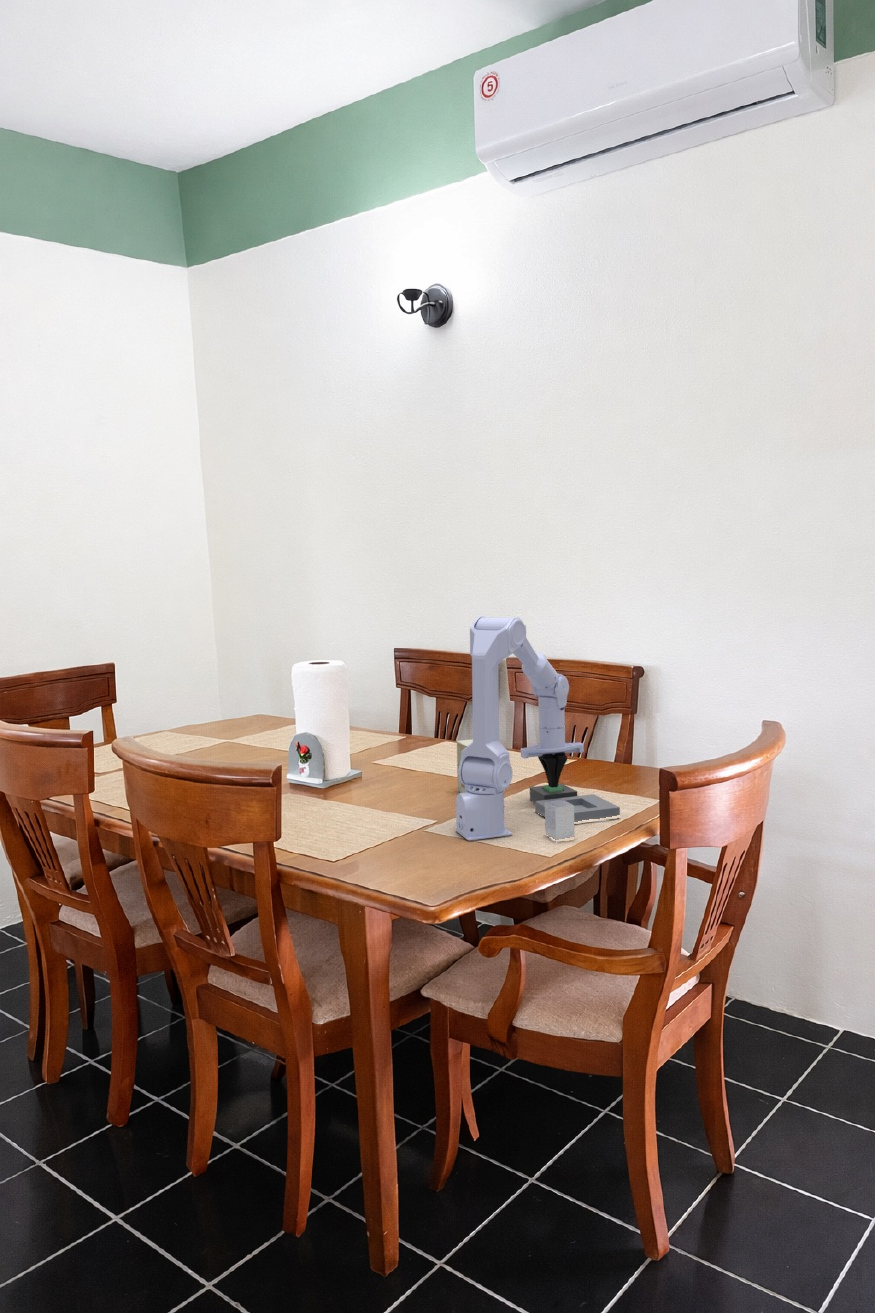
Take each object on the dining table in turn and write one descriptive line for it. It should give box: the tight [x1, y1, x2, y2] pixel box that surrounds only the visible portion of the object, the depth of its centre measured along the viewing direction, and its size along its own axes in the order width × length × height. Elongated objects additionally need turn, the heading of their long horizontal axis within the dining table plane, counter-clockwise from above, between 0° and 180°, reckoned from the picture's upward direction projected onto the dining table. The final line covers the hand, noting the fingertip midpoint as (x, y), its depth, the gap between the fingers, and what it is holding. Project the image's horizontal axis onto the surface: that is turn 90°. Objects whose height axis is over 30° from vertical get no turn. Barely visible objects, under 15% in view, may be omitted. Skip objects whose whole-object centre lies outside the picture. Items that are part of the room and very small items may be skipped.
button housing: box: [529, 783, 578, 803], centre depth 224 cm, size 8×8×3 cm
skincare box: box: [456, 738, 473, 793], centre depth 234 cm, size 6×4×12 cm
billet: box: [544, 800, 576, 840], centre depth 197 cm, size 4×5×7 cm
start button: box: [543, 784, 563, 792], centre depth 223 cm, size 3×3×2 cm
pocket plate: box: [534, 793, 621, 822], centre depth 212 cm, size 14×12×2 cm
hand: (553, 786), depth 223 cm, fingers closed, pressing on start button
